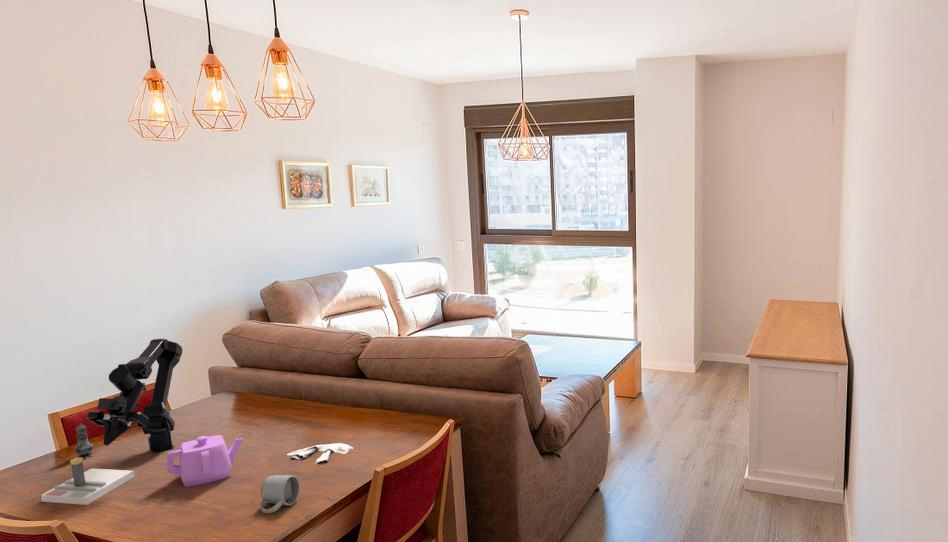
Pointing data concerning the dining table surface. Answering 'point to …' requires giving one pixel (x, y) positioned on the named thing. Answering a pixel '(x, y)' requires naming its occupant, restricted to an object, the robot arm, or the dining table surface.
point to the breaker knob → (78, 472)
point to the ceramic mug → (279, 491)
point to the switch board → (88, 487)
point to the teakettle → (203, 460)
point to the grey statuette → (83, 442)
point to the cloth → (325, 456)
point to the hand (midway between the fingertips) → (105, 445)
